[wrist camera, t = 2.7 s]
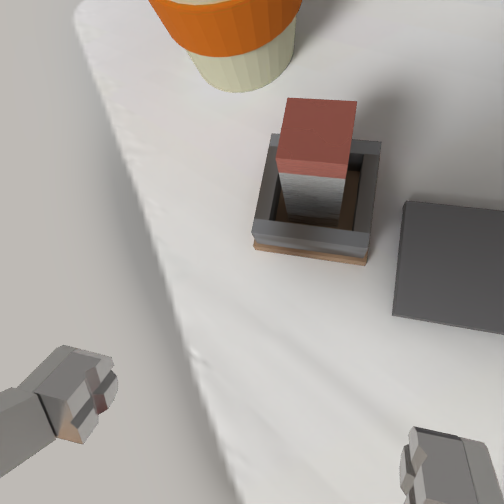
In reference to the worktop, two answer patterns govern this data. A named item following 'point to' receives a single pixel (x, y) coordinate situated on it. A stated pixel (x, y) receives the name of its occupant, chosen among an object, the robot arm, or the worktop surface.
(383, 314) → the worktop surface
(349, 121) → the steel peg
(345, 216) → the square open tray
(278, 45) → the reusable coffee cup
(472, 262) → the rubber pad
